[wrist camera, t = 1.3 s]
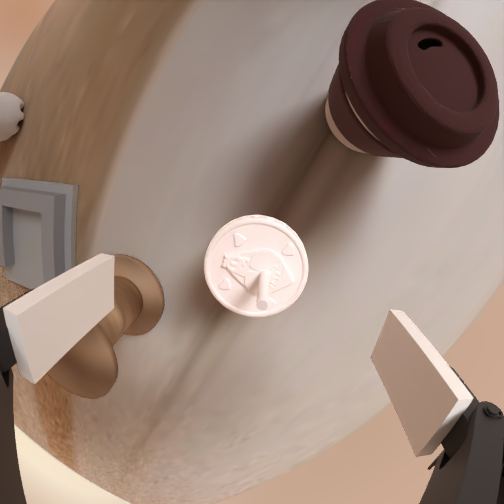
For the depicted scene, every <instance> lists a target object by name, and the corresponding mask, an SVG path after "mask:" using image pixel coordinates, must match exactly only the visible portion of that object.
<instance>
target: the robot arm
mask: <svg viewBox="0 0 504 504" xmlns="http://www.w3.org/2000/svg"><path fill="white" fill-rule="evenodd" d="M114 260H115V256H112V255H108V254H104V253H101V254H99V255H97V256H95V257H93V258H91V259H89V260H87V261H85V262H83V263H81V264H79V265H77V266H76V267H74V268H72V269H70V270H68V271H66V272H64V273H63V274H61V275H59V276H57V277H55V278H53V279H52V280H50V281H48V282H46V283H45V284H43V285H41V286H39V287H37V288H34V289H31V290H30V291H28V292H26V293H24V295H21V296H19V297H17V299H14V300H12V301H11V302H9V303H7V304H6V305H4V306H2V307H1V308H0V504H27V503H26V499H25V495H24V491H23V486H22V481H21V476H20V470H19V464H18V458H17V450H16V441H15V430H14V414H13V372H12V369H11V367H12V366H13V365H15V364H16V363H17V366H18V370H19V373H20V376H22V377H23V378H25V379H26V380H28V381H30V382H32V383H33V384H36V383H37V382H38V381H39V380H40V379H41V378H42V377H43V376H44V375H45V374H46V373H47V372H48V371H49V370H50V369H51V368H52V367H53V366H54V365H55V364H56V363H57V362H58V361H59V360H60V359H61V358H62V357H63V356H64V355H65V354H66V353H67V352H68V351H69V350H70V349H71V348H72V347H73V346H74V345H75V344H76V343H77V342H78V341H79V340H80V339H81V338H82V337H83V336H85V335H86V334H87V333H88V332H89V331H90V330H91V329H92V328H93V327H94V326H95V325H96V324H97V323H98V322H99V321H101V320H102V319H103V318H104V317H105V316H106V315H107V314H108V313H109V312H110V311H111V310H113V309H114ZM371 359H372V361H373V363H374V365H375V367H376V369H377V372H378V374H379V376H380V378H381V380H382V382H383V384H384V386H385V388H386V390H387V393H388V395H389V397H390V399H391V401H392V403H393V406H394V408H395V410H396V412H397V414H398V417H399V419H400V421H401V423H402V425H403V428H404V430H405V432H406V435H407V437H408V439H409V442H410V444H411V446H412V449H413V451H414V454H415V456H416V457H418V456H424V455H430V454H432V453H433V452H434V451H435V450H436V449H437V447H438V446H439V445H440V444H442V446H443V448H444V450H443V451H442V453H441V454H440V455H439V456H438V457H437V458H436V459H435V460H434V462H433V463H432V464H431V465H430V466H429V467H428V469H429V470H430V469H431V468H432V467H433V466H435V468H434V471H433V473H432V476H431V478H430V481H429V483H428V485H427V488H426V490H425V492H424V494H423V497H422V499H421V501H420V503H419V504H504V416H503V413H502V411H501V410H500V409H499V408H498V407H497V406H496V405H494V404H492V403H490V402H487V401H485V402H480V403H479V402H478V400H477V399H476V397H475V396H474V395H473V393H472V392H471V391H470V390H469V388H468V387H467V385H466V384H464V382H463V380H462V379H461V378H459V375H458V374H457V373H456V371H455V370H454V369H453V368H452V367H450V366H449V365H448V364H447V363H446V362H445V360H444V359H443V358H442V357H441V355H440V354H439V353H438V352H437V350H436V349H435V348H434V347H433V346H432V344H431V343H430V342H429V341H428V340H427V338H426V337H425V336H424V335H423V334H422V333H421V331H420V330H419V329H418V328H417V327H416V326H415V324H414V323H413V322H412V321H411V320H410V319H409V318H408V316H407V315H406V314H405V313H404V312H403V311H399V310H392V309H390V310H389V313H388V315H387V318H386V321H385V323H384V326H383V328H382V331H381V333H380V336H379V338H378V341H377V343H376V346H375V348H374V350H373V353H372V355H371Z"/></svg>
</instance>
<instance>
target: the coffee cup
mask: <svg viewBox="0 0 504 504" xmlns="http://www.w3.org/2000/svg"><path fill="white" fill-rule="evenodd" d="M325 114H326V119H327V123H328V125H329V127H330V130H331V131H332V133H333V134H334V136H335V137H336V138H337V139H338V140H339V141H340V142H341V143H342V144H343V145H345V146H346V147H348V148H350V149H352V150H354V151H357V152H360V153H369V154H372V155H376V156H383V157H397V158H405V159H407V160H409V161H411V162H414V163H416V164H419V165H423V166H427V167H436V168H456V167H461V166H465V165H468V164H470V163H472V162H474V161H475V160H477V159H478V158H479V157H481V156H482V155H483V154H484V153H485V152H486V150H487V149H488V148H489V146H490V145H491V143H492V141H493V139H494V136H495V133H496V130H497V127H498V120H499V98H498V89H497V82H496V78H495V75H494V71H493V69H492V66H491V64H490V62H489V59H488V57H487V56H486V54H485V52H484V51H483V49H482V48H481V46H480V45H479V43H478V42H477V41H476V40H475V38H474V37H473V36H472V35H471V34H470V33H469V32H468V31H467V30H466V29H465V28H464V27H463V26H461V25H460V24H459V23H458V22H456V21H455V20H453V19H451V18H450V17H448V16H446V15H445V14H443V13H442V12H440V11H438V10H436V9H435V8H433V7H431V6H429V5H426V4H423V3H421V2H418V1H414V0H376V1H373V2H371V3H369V4H367V5H365V6H364V7H362V8H361V9H360V10H359V11H358V12H357V13H356V14H355V15H354V16H353V18H352V19H351V21H350V23H349V25H348V26H347V28H346V30H345V32H344V34H343V37H342V40H341V44H340V49H339V64H338V66H337V69H336V71H335V74H334V76H333V79H332V81H331V84H330V87H329V93H328V97H327V100H326V105H325Z"/></svg>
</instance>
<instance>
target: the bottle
mask: <svg viewBox="0 0 504 504" xmlns="http://www.w3.org/2000/svg"><path fill="white" fill-rule="evenodd" d="M23 107H24V103H23V101H22V100H21V99H20V98H19V97H17V96H16V95H14V94H12V93H7V92H0V141H4V140H7V139H9V138H10V137H11V136H12V135H14V134H16V133H17V132H18V130H19V126H18V125H17V123H18V122H19V121H20V120H23V119H24V113H22V112H21V110H20V109H22V108H23Z"/></svg>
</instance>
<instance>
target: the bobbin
mask: <svg viewBox="0 0 504 504" xmlns="http://www.w3.org/2000/svg"><path fill="white" fill-rule="evenodd" d="M113 256H115V260H114V309H113V310H111V311H110V312H109V313H108V314H107V315H106V316H105V317H104V318H103V319H102V320H101V321H99V322H98V323H97V324H96V325H95V326H94V327H93V328H92V329H91V330H90V331H89V332H88V333H87V334H86V335H85V336H83V337H82V338H81V339H80V340H79V341H78V342H77V343H76V344H75V345H74V346H73V347H72V348H71V349H70V350H69V351H68V352H67V353H66V354H65V355H64V356H63V357H62V358H61V359H60V360H59V361H58V362H57V363H56V364H55V365H54V366H53V367H52V368H51V369H50V370H49V371H48V372H47V374H48V375H49V376H50V377H51V378H52V379H53V380H54V381H55V382H56V383H57V384H59V385H60V386H61V387H63V388H64V389H66V390H67V391H69V392H71V393H73V394H75V395H77V396H80V397H84V398H89V399H95V398H100V397H103V396H104V395H106V394H107V393H108V392H109V390H110V389H111V387H112V386H113V385H114V383H115V381H116V379H117V375H118V364H117V359H116V355H115V352H114V350H113V347H112V346H113V345H114V344H115V342H116V341H117V340H118V339H119V338H120V337H121V335H122V334H127V335H141V334H144V333H146V332H148V331H150V330H151V329H152V328H153V327H154V326H155V325H156V324H157V322H158V321H159V319H160V318H161V316H162V313H163V310H164V294H163V290H162V287H161V285H160V283H159V281H158V279H157V277H156V276H155V274H154V273H153V272H152V271H151V269H150V268H149V267H148V266H147V265H145V264H144V263H143V262H141V261H140V260H138V259H136V258H134V257H131V256H128V255H113Z"/></svg>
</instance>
